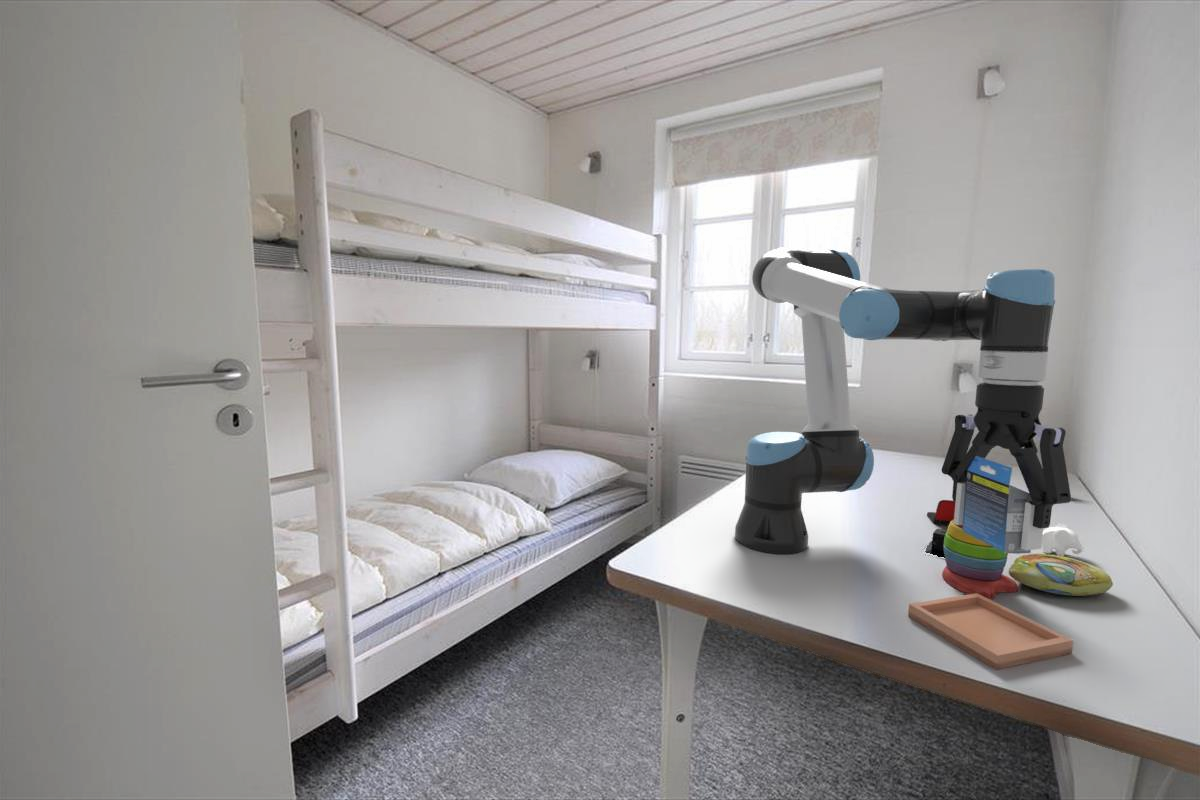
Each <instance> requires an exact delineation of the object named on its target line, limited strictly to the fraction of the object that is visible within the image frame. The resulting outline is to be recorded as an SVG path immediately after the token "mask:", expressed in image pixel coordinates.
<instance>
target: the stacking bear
mask: <svg viewBox="0 0 1200 800" xmlns="http://www.w3.org/2000/svg"><path fill="white" fill-rule="evenodd" d="M946 530H947V532H946V534H945V538H944V555H945V559H944V560H945V564H946V565H945V566H944V568H943V570H942V573H941V577H942V578H943V579H944V580H945V582H947V583H948V584H949V585H951V586H952V587H953V588H955V589H957V590H958V591H960V592H962V593H965V594H966V595H969V594H975V593H977V594H979V595H982V596H984V597H986V598H988V599H990V600H993V599H995V598H996V595H997V594H998V593H1010V594H1011V593H1012V594H1013V593H1016V592H1018V591H1019V586H1018V584H1017V582H1016V580H1015V579H1014V580H1013V579H1012V577H1011V578H1010V577H1008V576H1006V575H1005V574H1004V571H1005V566H1006V565H1007V561H1008V556H1009V553H1004V552H1002V551H1000V550H998V549H997V548H995V547H993V546H991V545H989V544H987V543H985V542H983V541H981V540H979V539H977V538H975V537H973V536H971V535H969V534H967V533H965V532H964V531H963V525H956V524H954V519H953V520H952V521H951V522H950V524H949V526H947V529H946Z"/></svg>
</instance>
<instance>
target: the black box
mask: <svg viewBox="0 0 1200 800" xmlns="http://www.w3.org/2000/svg"><path fill="white" fill-rule="evenodd" d="M946 532H947V529H942V528H936V529H934V531H933V532H932V539H931V541H930V542H929V543H928V544H929V545H928V544H927V545H926V547H927V548H926V547H925V548H926V551H925V552H926V553H930V554H933V555H937V556H938V557H944V558H945V555H944V538H945V534H946Z"/></svg>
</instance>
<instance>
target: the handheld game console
mask: <svg viewBox="0 0 1200 800" xmlns="http://www.w3.org/2000/svg"><path fill="white" fill-rule="evenodd" d="M955 503H956V501H953V500H949V499H941V500H940V501H938V503H937V506H936V509H935V510H936V511H935V512H934V511H933V512H932V511H928V512H927V513H926V516H927V518H928V519H929V520H930V521H931V522H932V524H933V525H936V526H947V527H948V526H949V524H950V522H951V521H952V520H953V519H954V514H955Z"/></svg>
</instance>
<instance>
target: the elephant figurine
mask: <svg viewBox="0 0 1200 800" xmlns="http://www.w3.org/2000/svg"><path fill="white" fill-rule="evenodd" d="M1041 549H1042V551H1043V552H1044V554H1052V553H1053V550H1055V555H1058V556H1063V557H1065V554H1066V552H1067V550H1069V549H1072V550H1071V552H1072V553H1073V555H1078V554H1081V553H1082V552H1084V550H1083V549H1084V546H1083V544H1082V543H1081V541H1080V540H1079V536H1078V535H1077V533H1076V532H1075V531H1074V530H1072V529H1071V527H1070V526H1069V525H1067V524H1065V523H1057V524H1056V525H1054V526H1049V527H1048V528H1044V529H1043V535H1042V544H1041Z"/></svg>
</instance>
